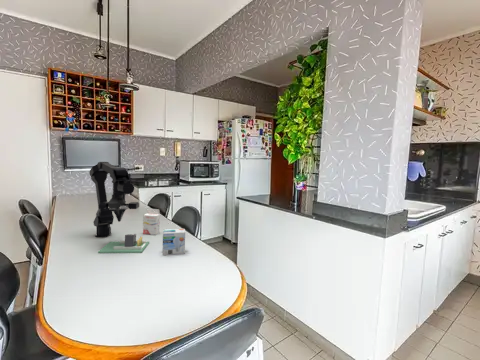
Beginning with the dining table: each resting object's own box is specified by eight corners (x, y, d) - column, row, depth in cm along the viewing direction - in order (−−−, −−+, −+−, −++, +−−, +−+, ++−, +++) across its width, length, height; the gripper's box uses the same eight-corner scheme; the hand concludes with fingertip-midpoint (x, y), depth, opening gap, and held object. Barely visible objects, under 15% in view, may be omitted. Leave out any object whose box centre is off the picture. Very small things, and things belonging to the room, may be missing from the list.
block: (124, 246, 121) (125, 235, 122) (127, 245, 127) (128, 234, 128) (133, 246, 122) (133, 234, 123) (135, 245, 128) (136, 233, 129)
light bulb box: (162, 255, 118) (162, 233, 117) (162, 250, 124) (162, 229, 124) (185, 253, 121) (185, 232, 120) (184, 248, 127) (184, 228, 126)
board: (98, 253, 118) (98, 243, 118) (110, 243, 132) (110, 234, 131) (141, 252, 120) (141, 243, 120) (149, 242, 134) (149, 234, 134)
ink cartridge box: (142, 234, 148) (142, 210, 147) (146, 231, 153) (146, 208, 152) (156, 235, 148) (156, 210, 146) (160, 232, 153) (160, 209, 151)
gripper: (92, 193, 120) (93, 225, 121) (132, 194, 122) (132, 225, 123) (102, 190, 131) (103, 219, 132) (139, 191, 133) (139, 220, 134)
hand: (119, 221), depth 130 cm, fingers closed
